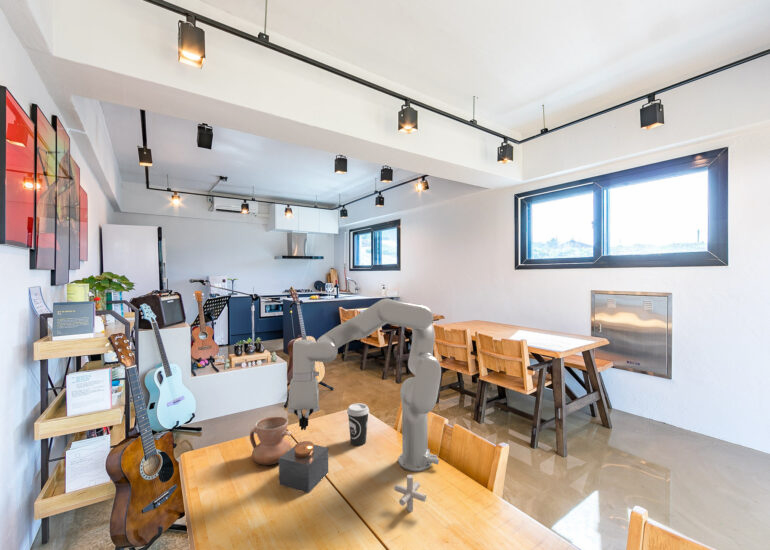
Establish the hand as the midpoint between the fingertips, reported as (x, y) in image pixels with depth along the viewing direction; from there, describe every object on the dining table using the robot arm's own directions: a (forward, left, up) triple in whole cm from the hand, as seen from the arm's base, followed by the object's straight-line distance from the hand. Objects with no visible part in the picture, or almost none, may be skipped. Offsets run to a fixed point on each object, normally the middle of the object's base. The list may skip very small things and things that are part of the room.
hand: (303, 428), depth 116 cm
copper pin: (0, 0, -17) cm, 17 cm away
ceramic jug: (+20, -6, -18) cm, 27 cm away
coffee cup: (-6, -30, -18) cm, 36 cm away
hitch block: (0, 0, -18) cm, 18 cm away
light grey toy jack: (-39, +1, -18) cm, 43 cm away
